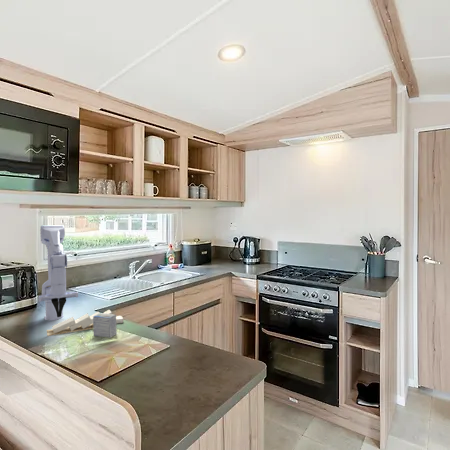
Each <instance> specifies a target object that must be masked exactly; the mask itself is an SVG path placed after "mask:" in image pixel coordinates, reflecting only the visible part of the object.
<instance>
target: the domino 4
mask: <svg viewBox="0 0 450 450" xmlns="http://www.w3.org/2000/svg"><path fill="white" fill-rule="evenodd" d="M101 313H102V314H113V312H112V311H111V310H110V309H108V310H106V311H104V312H101Z"/></svg>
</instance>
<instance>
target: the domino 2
mask: <svg viewBox="0 0 450 450" xmlns="http://www.w3.org/2000/svg"><path fill="white" fill-rule="evenodd" d="M90 316H91V315H89V313H87V312H86V313H85V314H84V315H82V316H80V317H78V318H77V319H74V320H75V323H76V324H74V325H72V326H70V327H69V328H70V329H71V331H72V330H74V329H76V328H78V327H79V326H81V325H83V324H85V323H86V322H88V321H90V320H91V318H90Z"/></svg>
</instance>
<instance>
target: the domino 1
mask: <svg viewBox="0 0 450 450" xmlns="http://www.w3.org/2000/svg"><path fill="white" fill-rule="evenodd" d="M75 320H76V319H75V317H74V316H72V317H69V318H67V319H65V320H63V321H61V322H59V323H56V324H54V325H52V326H51V327H52V328H51V329H53V332H54V334H55V333H57V332H59V331H61V330H64V329H66V328H68V327H70V326H72V325H74V324H76V323H75Z"/></svg>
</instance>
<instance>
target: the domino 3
mask: <svg viewBox="0 0 450 450" xmlns="http://www.w3.org/2000/svg"><path fill="white" fill-rule="evenodd" d="M97 314H100V312H99V311H96V312H95V313H93V314H91V315H89V316H90V318H91V320H90V321H88V322H86V323H85V324H83V325H81V326H82V328H83V329H84V328H86V327H87V326H89V325H91V324H93V316H95V315H97Z"/></svg>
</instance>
